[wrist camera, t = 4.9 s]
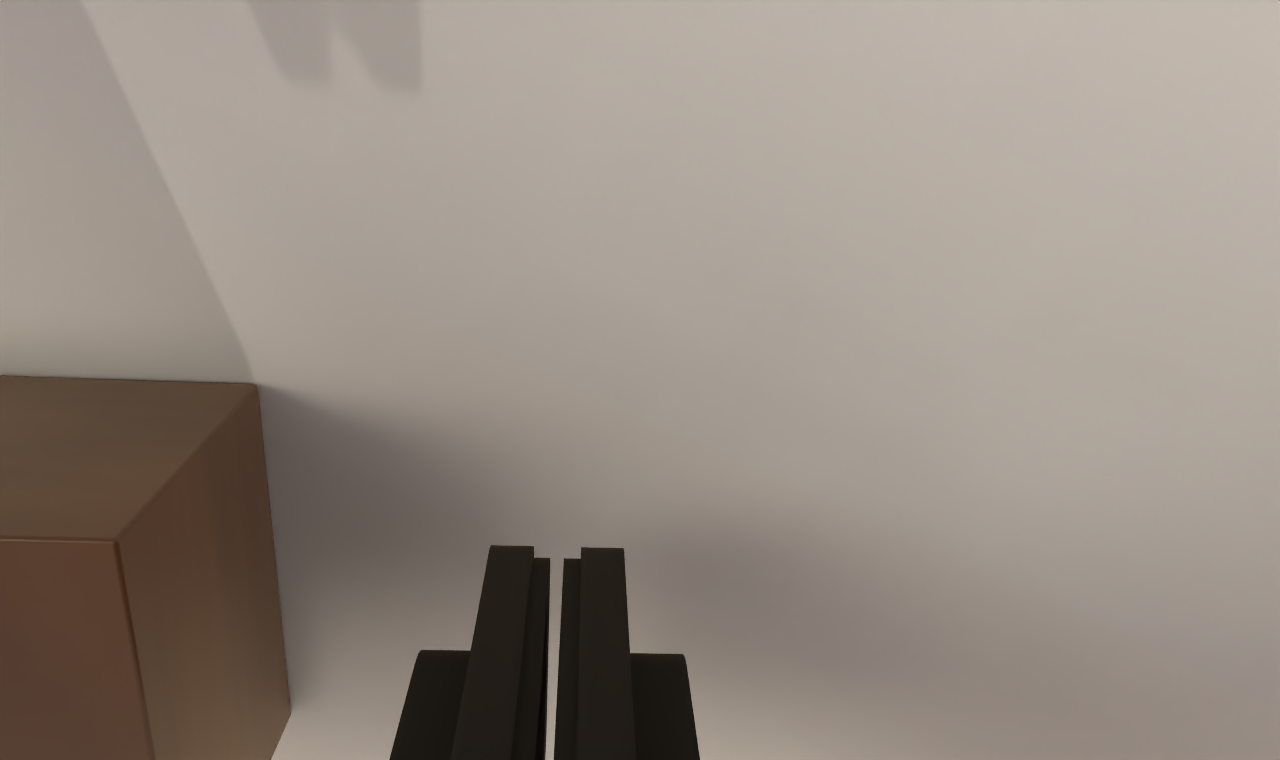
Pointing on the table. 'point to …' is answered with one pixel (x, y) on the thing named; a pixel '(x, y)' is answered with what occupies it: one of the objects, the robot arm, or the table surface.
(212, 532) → the walnut block
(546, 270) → the table surface
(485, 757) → the robot arm
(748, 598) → the table surface
